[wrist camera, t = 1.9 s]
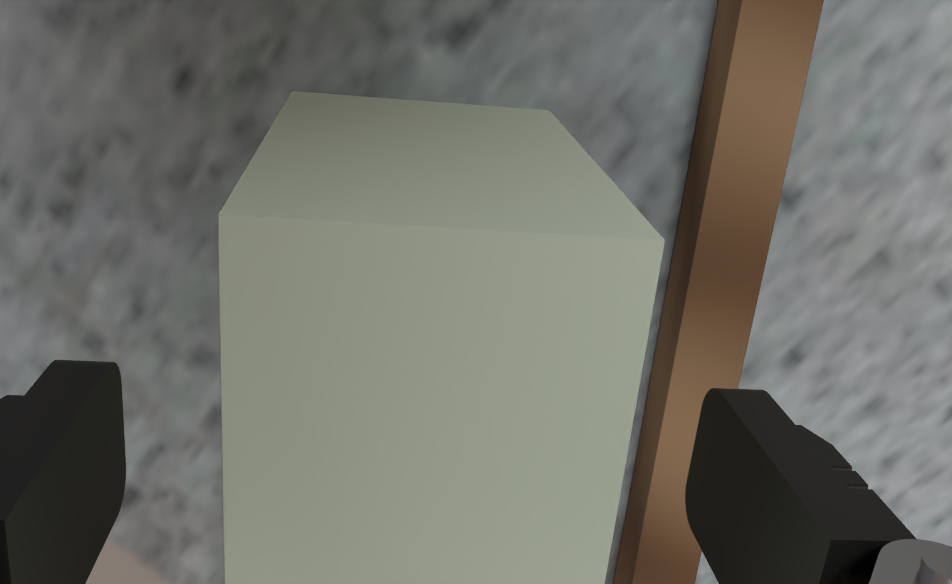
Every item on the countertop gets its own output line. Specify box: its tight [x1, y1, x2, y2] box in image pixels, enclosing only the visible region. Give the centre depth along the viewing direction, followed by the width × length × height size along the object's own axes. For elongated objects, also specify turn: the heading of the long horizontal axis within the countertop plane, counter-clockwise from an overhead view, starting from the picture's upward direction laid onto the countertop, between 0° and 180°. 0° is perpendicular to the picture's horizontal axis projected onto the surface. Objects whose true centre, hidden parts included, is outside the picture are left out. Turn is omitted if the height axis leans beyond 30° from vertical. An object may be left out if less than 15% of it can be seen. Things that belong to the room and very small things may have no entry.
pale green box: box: [218, 91, 665, 584], centre depth 15 cm, size 6×5×8 cm
